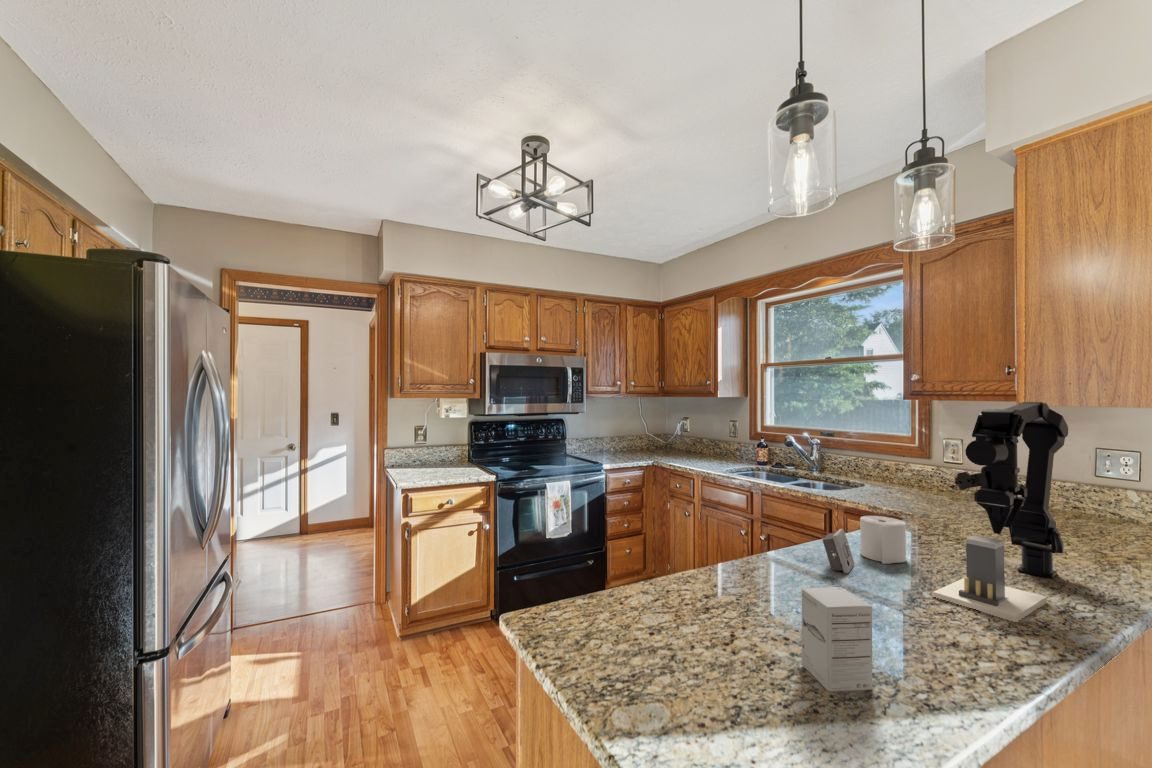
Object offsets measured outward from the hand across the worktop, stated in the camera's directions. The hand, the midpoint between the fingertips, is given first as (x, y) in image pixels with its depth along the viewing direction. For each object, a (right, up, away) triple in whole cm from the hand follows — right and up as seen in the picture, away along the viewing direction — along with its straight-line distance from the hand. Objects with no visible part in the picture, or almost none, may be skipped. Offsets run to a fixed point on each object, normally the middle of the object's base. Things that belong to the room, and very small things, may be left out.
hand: (1001, 530), depth 114 cm
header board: (-9, -13, -8) cm, 18 cm away
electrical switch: (-31, -13, +12) cm, 36 cm away
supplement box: (-59, -12, -38) cm, 71 cm away
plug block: (-11, -11, -9) cm, 18 cm away
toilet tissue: (-15, -14, +20) cm, 28 cm away
